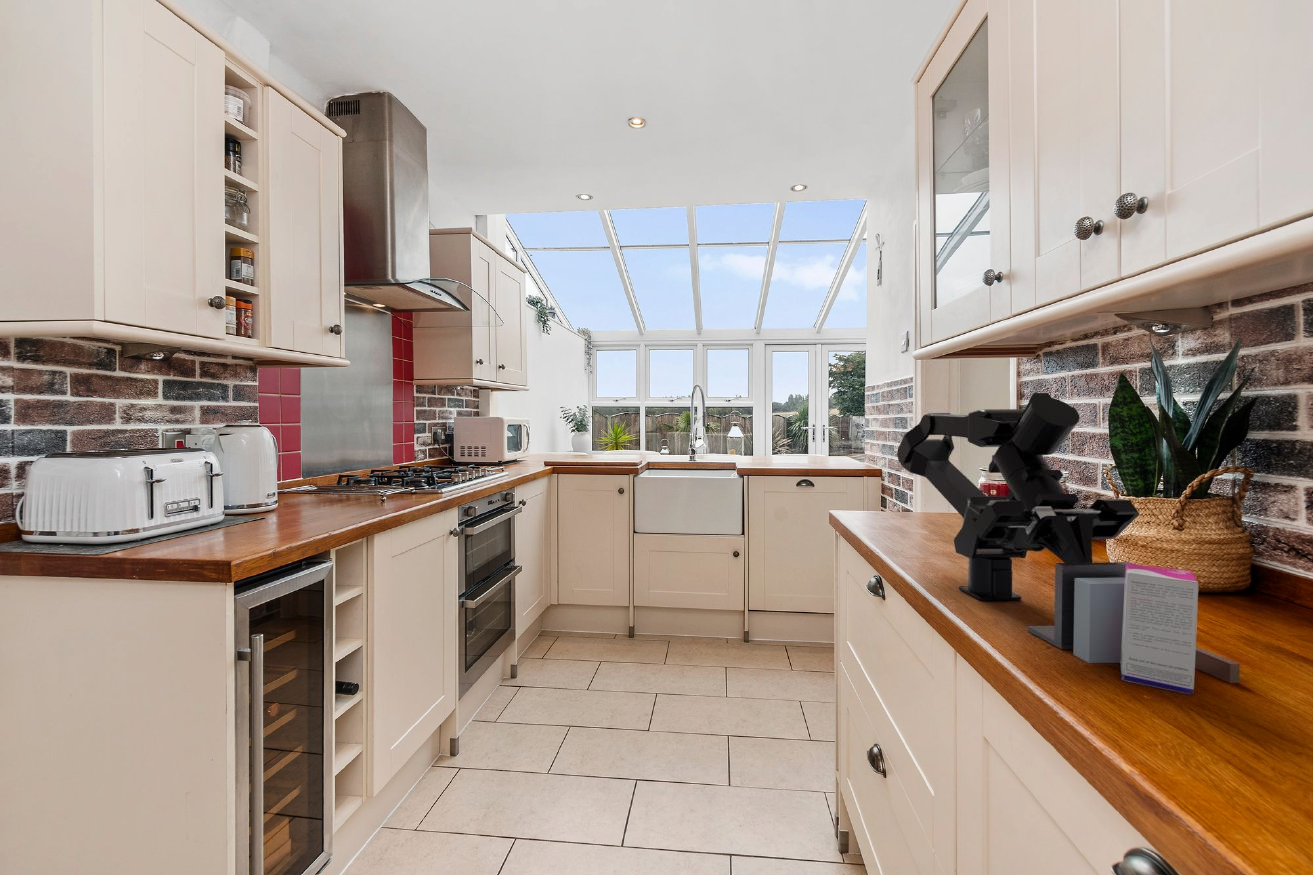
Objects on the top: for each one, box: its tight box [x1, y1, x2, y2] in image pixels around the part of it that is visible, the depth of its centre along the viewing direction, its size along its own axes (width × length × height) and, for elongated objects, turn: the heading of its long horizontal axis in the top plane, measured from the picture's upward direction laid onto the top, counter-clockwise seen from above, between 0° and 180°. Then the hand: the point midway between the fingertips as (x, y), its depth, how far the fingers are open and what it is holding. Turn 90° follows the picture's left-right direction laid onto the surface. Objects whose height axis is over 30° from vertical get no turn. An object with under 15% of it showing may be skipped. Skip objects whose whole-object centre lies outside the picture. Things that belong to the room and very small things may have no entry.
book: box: [1072, 578, 1125, 664], centre depth 68 cm, size 2×8×9 cm, turn 92°
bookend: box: [1026, 561, 1134, 650], centre depth 74 cm, size 6×9×10 cm
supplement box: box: [1120, 563, 1199, 695], centre depth 63 cm, size 6×6×12 cm
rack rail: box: [1195, 645, 1241, 684], centre depth 69 cm, size 15×1×2 cm, turn 2°
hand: (1087, 576), depth 72 cm, fingers closed
